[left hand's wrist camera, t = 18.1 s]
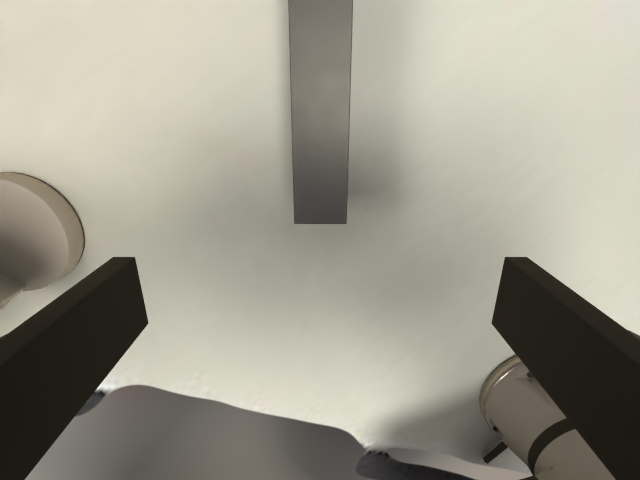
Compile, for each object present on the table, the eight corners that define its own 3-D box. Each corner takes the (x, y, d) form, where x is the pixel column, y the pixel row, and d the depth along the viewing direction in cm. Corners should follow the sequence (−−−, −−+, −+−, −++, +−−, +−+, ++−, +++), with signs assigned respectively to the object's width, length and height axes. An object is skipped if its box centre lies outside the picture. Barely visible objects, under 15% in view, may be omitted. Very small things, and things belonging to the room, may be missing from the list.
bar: (340, 198, 38) (346, 223, 30) (299, 198, 38) (294, 223, 30) (348, -135, 28) (360, -235, 20) (293, -135, 28) (282, -235, 20)
